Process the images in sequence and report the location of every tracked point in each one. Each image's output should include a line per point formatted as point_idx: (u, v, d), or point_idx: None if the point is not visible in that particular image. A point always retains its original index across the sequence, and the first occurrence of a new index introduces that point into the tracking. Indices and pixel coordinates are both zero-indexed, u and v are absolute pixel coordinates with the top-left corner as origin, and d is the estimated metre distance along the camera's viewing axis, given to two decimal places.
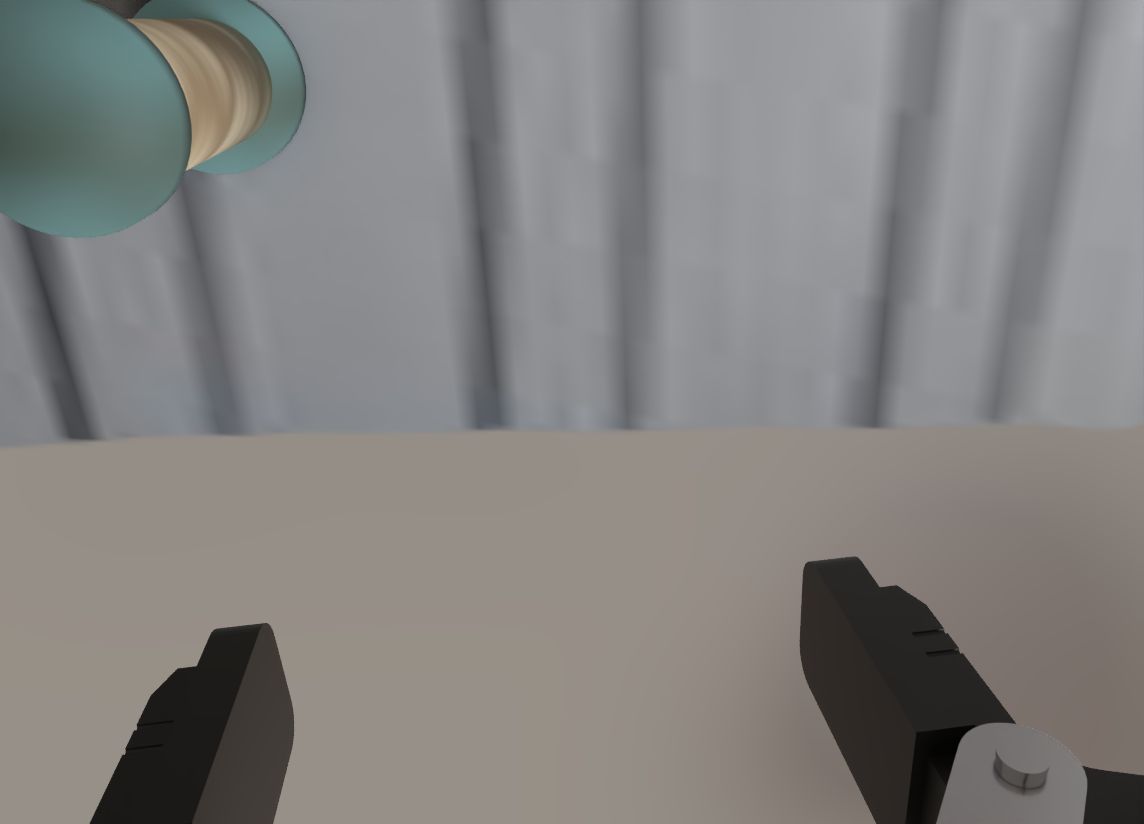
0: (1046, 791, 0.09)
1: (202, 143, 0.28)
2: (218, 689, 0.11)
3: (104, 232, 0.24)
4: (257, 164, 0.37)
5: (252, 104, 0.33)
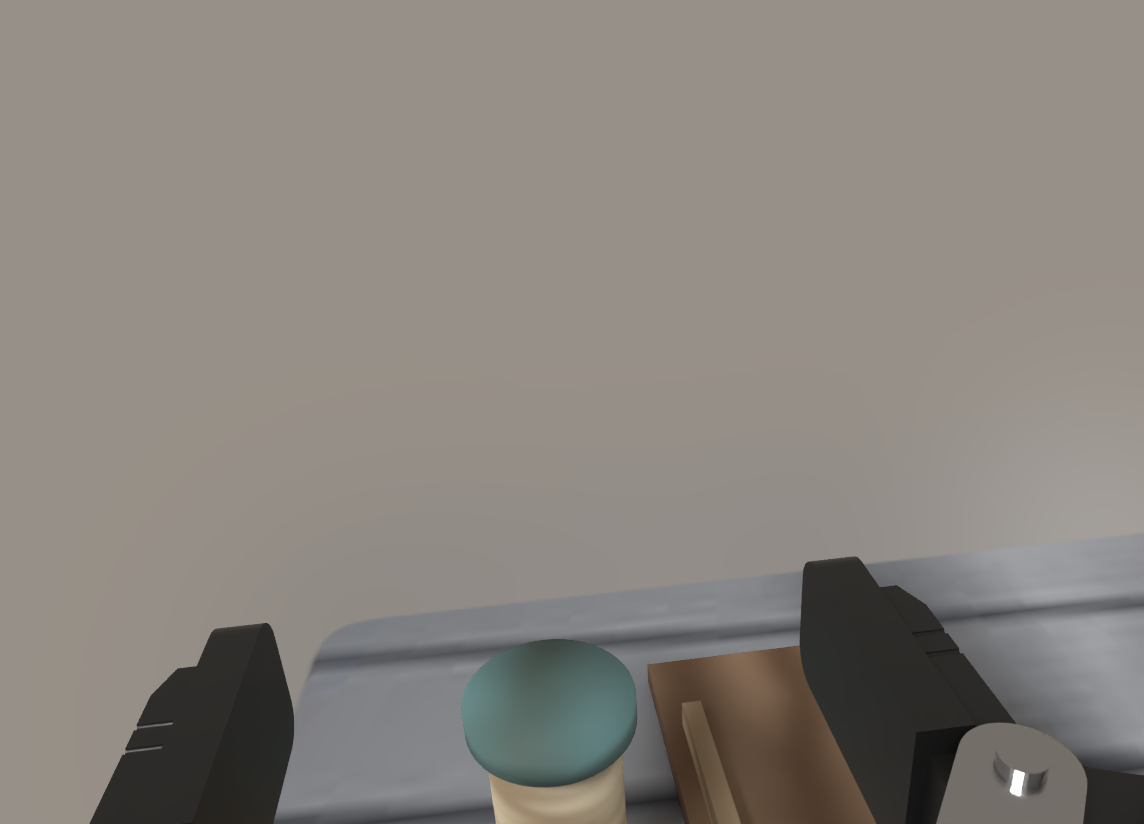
0: (1046, 791, 0.09)
1: None
2: (218, 689, 0.11)
3: (464, 714, 0.30)
4: None
5: None
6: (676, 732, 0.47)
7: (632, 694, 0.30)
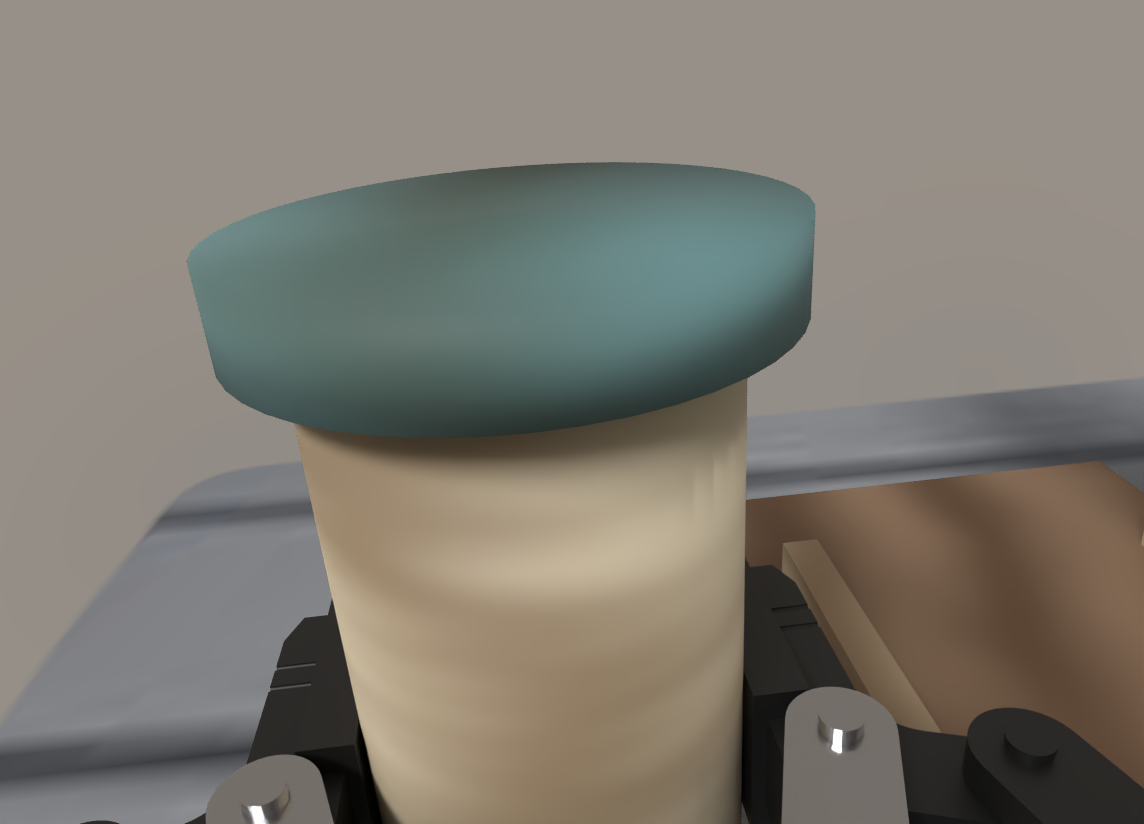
0: (858, 747, 0.10)
1: (430, 734, 0.09)
2: None
3: (199, 250, 0.08)
4: None
5: None
6: None
7: (797, 198, 0.09)
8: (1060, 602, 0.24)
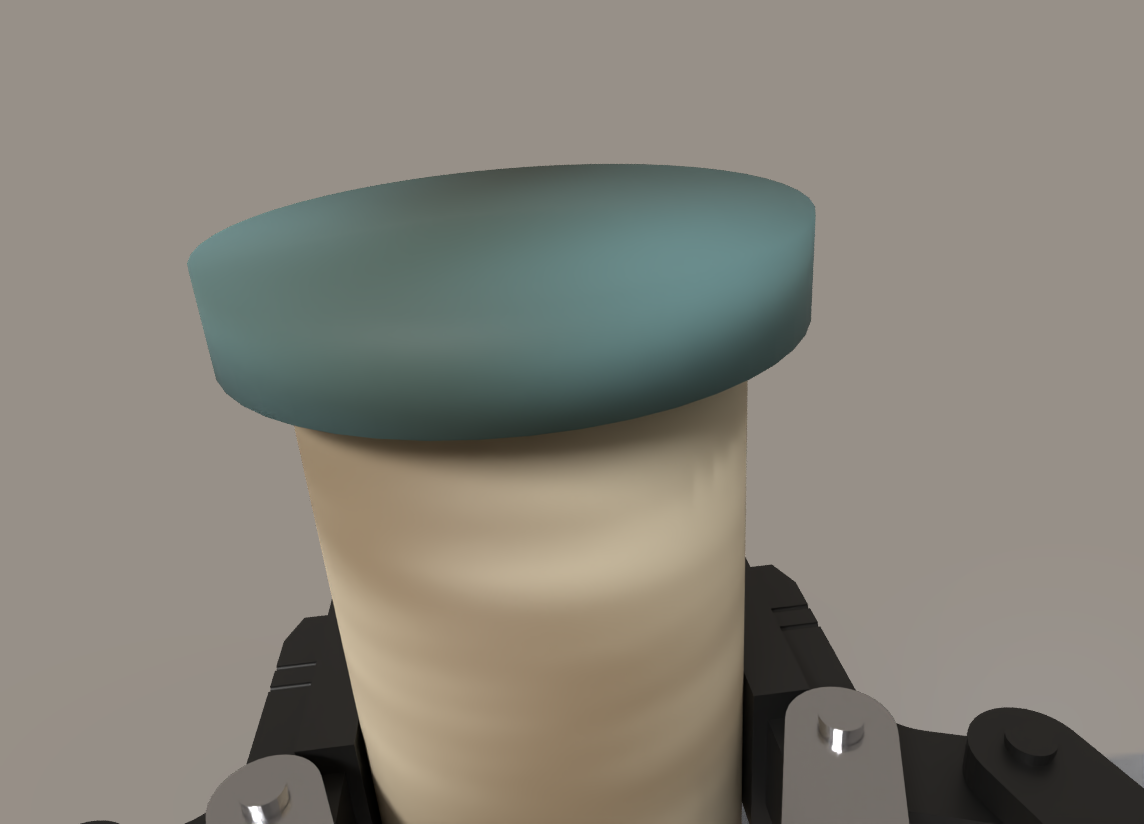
0: (858, 747, 0.10)
1: (430, 736, 0.09)
2: None
3: (199, 253, 0.08)
4: None
5: None
6: None
7: (797, 200, 0.09)
8: None
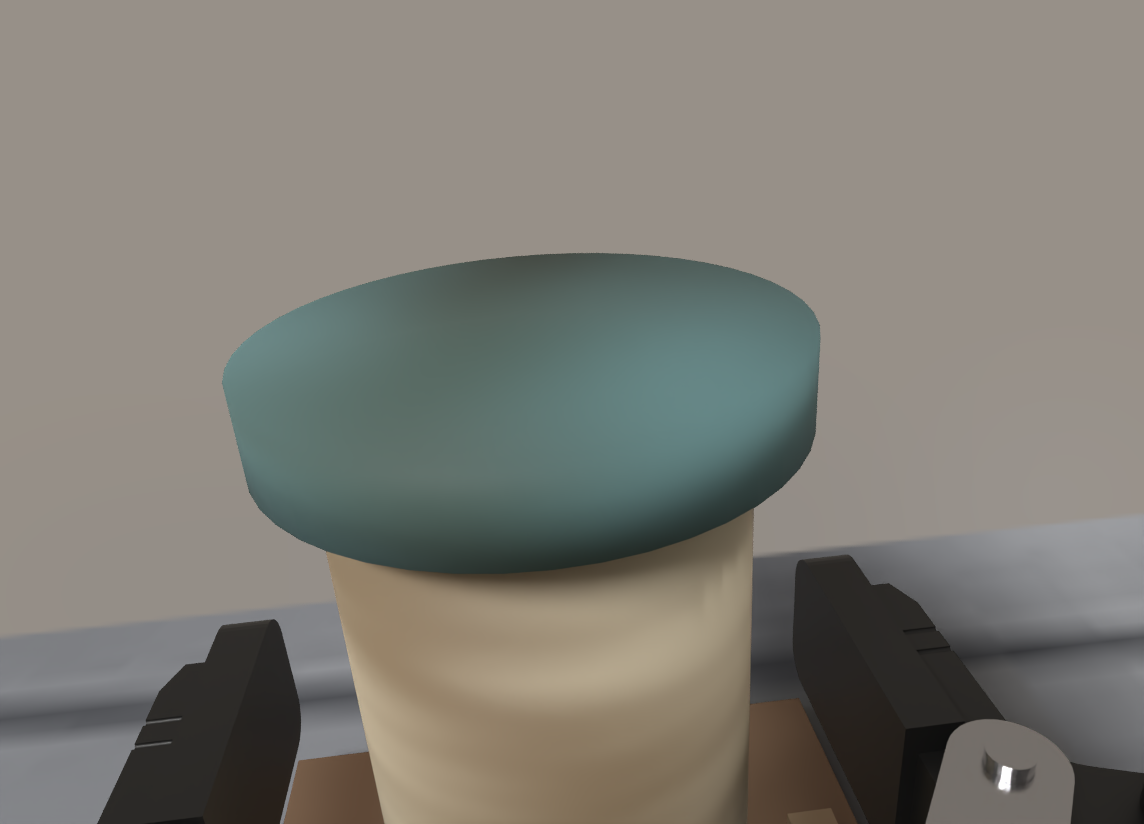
0: (1034, 787, 0.09)
1: None
2: (227, 685, 0.11)
3: (232, 368, 0.09)
4: None
5: None
6: None
7: (802, 314, 0.09)
8: None
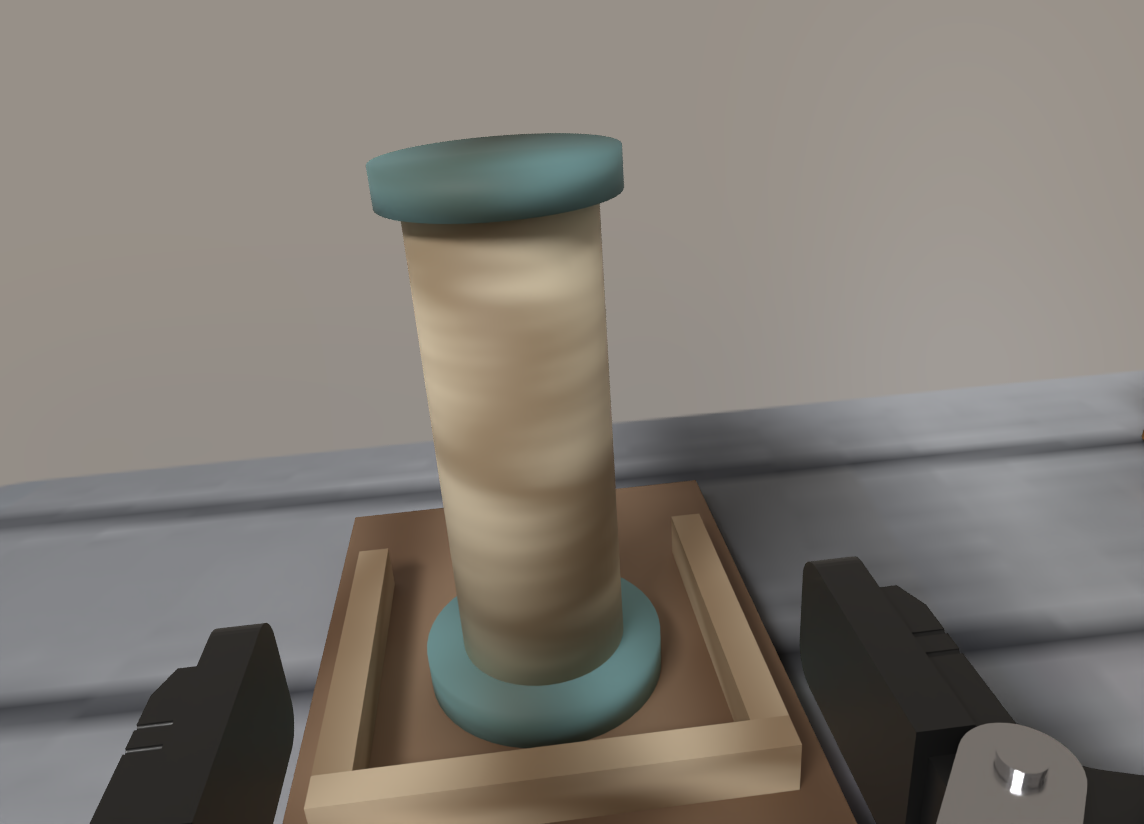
0: (1046, 791, 0.09)
1: (463, 373, 0.21)
2: (218, 689, 0.11)
3: (369, 165, 0.20)
4: (435, 669, 0.25)
5: (514, 585, 0.23)
6: None
7: (616, 144, 0.21)
8: None
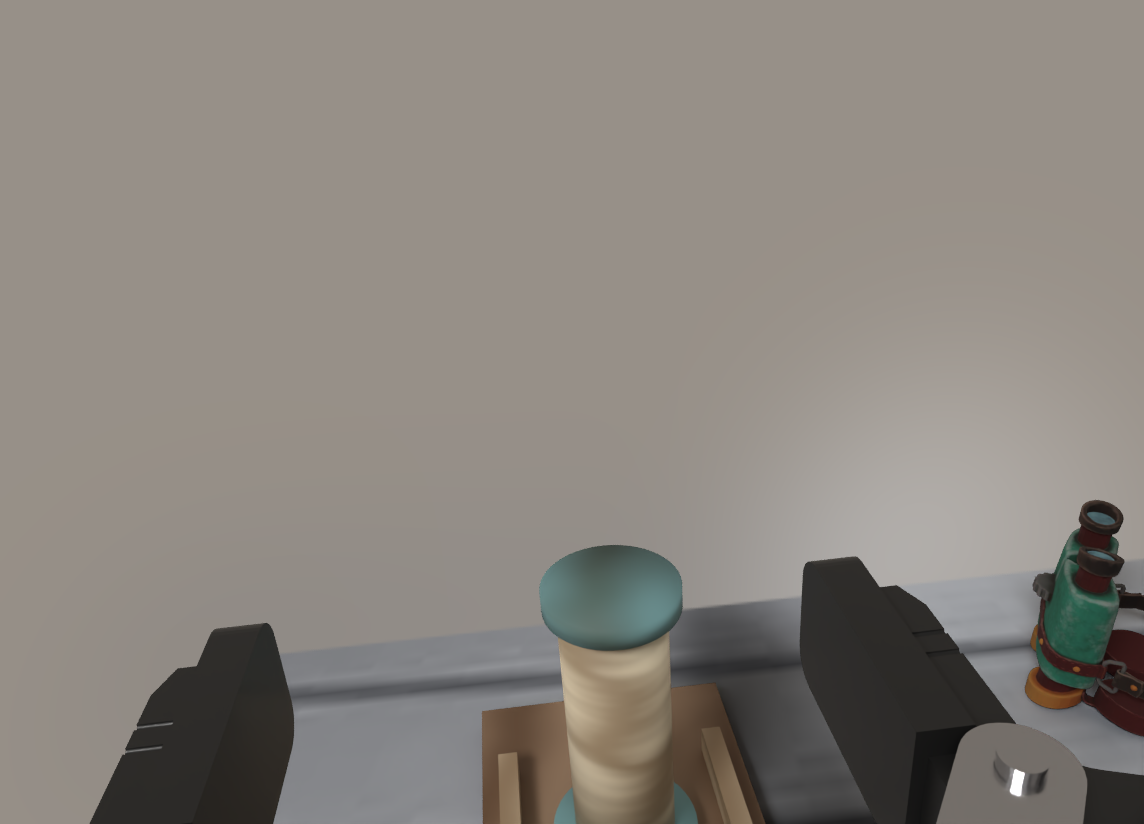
0: (1046, 791, 0.09)
1: (592, 708, 0.37)
2: (219, 689, 0.11)
3: (542, 598, 0.37)
4: None
5: (615, 813, 0.40)
6: (493, 783, 0.47)
7: (679, 582, 0.37)
8: None
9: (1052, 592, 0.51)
